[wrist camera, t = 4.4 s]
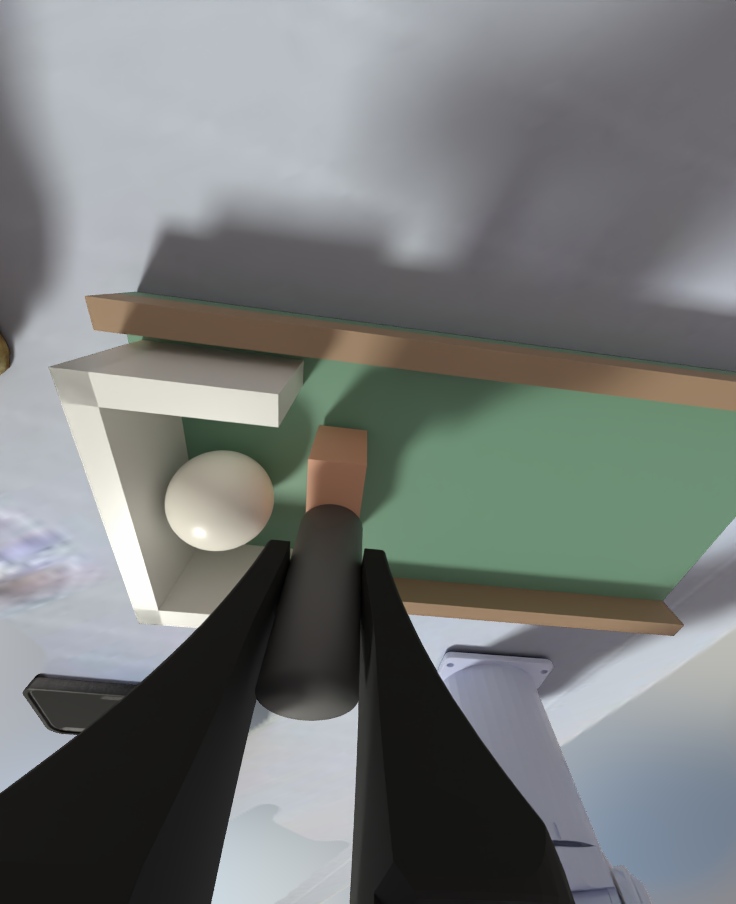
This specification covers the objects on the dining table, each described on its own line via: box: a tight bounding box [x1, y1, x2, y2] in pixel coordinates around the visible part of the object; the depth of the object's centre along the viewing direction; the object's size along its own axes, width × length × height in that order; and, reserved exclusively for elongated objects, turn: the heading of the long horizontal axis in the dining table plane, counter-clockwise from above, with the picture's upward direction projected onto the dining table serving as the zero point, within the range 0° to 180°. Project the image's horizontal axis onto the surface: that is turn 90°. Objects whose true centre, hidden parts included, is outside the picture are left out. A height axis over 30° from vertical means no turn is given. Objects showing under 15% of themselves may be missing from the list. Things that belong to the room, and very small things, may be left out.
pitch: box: [85, 292, 736, 636], centre depth 15 cm, size 14×28×2 cm, turn 83°
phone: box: [23, 673, 137, 735], centre depth 27 cm, size 8×1×15 cm
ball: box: [165, 450, 274, 551], centre depth 13 cm, size 4×4×4 cm
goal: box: [48, 340, 304, 628], centre depth 13 cm, size 11×6×4 cm, turn 173°
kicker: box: [255, 425, 367, 721], centre depth 11 cm, size 6×2×8 cm, turn 173°
